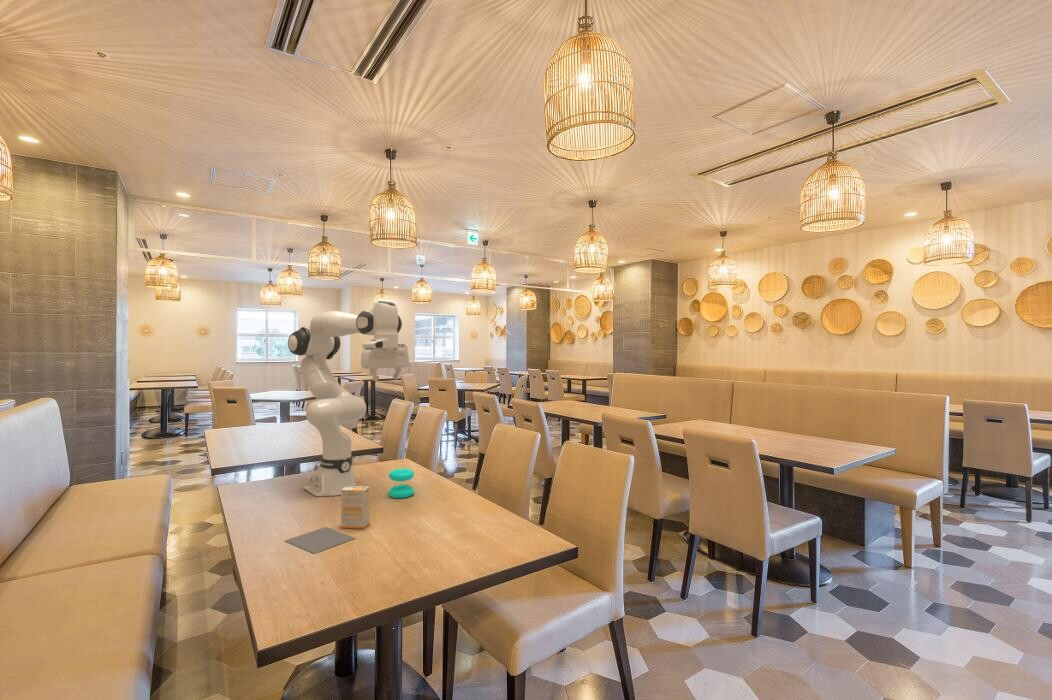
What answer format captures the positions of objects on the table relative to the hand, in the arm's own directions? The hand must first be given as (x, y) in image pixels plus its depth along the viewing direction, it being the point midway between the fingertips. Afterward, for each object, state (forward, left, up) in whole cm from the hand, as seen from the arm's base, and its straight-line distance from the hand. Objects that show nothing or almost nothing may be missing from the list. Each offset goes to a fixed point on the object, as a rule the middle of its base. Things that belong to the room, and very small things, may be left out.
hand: (385, 380), depth 185 cm
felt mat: (+10, -34, -48) cm, 59 cm away
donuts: (-5, +12, -48) cm, 50 cm away
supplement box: (+9, -20, -48) cm, 53 cm away
